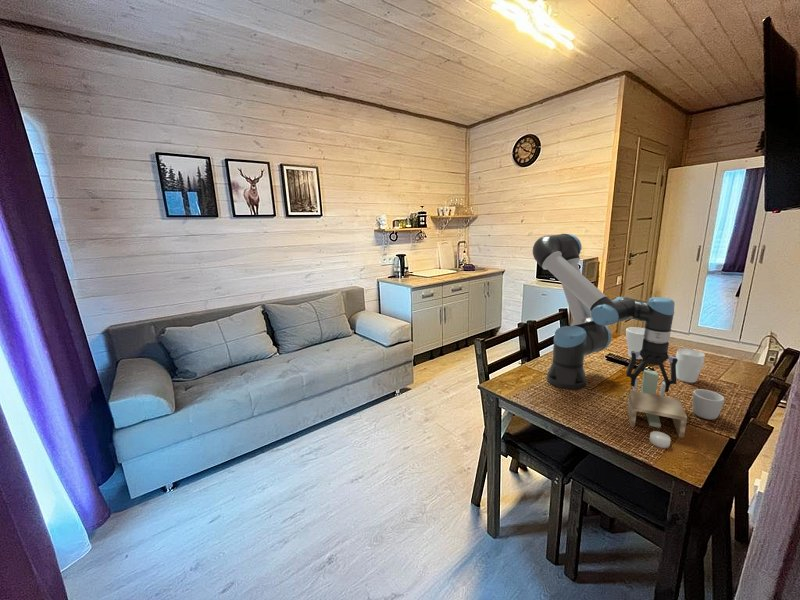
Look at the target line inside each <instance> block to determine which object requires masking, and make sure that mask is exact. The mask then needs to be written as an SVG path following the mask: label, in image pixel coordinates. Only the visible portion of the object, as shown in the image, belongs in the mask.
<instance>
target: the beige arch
mask: <svg viewBox="0 0 800 600" xmlns="http://www.w3.org/2000/svg"><path fill="white" fill-rule="evenodd" d="M626 409H627V414H628V419H629V426H630V427H632V428H635V426H636V421H637V420H636V419H637V412H640V413H645V414H646V413H649V414H654V415H658V416H659V417H666V418H670V419H672V422H673V425H674V427H675V431H676V433H677V436H678V437H679V438H685V432H686V428H687V427H686V426H687V421H688V416H687V414H686V411H685V409H684V406H683V405H682V402H681V399H680V398H677V397H669V396H665V395H664V396H660V394H659V395H658V394H656V395H654V394H648V393H642V392H641V391H633V390H632V389H631V390H629V394H628V401H627V407H626Z"/></svg>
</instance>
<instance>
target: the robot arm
mask: <svg viewBox="0 0 800 600" xmlns="http://www.w3.org/2000/svg"><path fill="white" fill-rule="evenodd" d="M582 248H583V247H582V243H581V241H580V239H579V238H578V237H577V236H576V235H574V234H571V233H561V234H551V235H544V236H541V237H539V238H537V240H536V241H535V242H534V244H533V247H532V257H533V258H534V261H536V263H537V264H538V265H539V267H541V268H542V269H543V270H548V271H549V272H550V274H552V275H553V277H555V278H556V279H557V280H558V281H559V282H560V283H561V286H562V289H563V292H564V295H565V298H566V302H567V305H568V307H569V311H570V314H571V317H572V322H571V325H570V326H569V325H564V326H561V327H558V328H557V329H556V330H555V331H554V336H553V347H552V349H553V350H552V352H553V353H552V363H551V365H550V367H549V369H548V370H547V374H546V380H547V382H548V383H550V384H551V385H552V386H554V387H557V388H559V389H563V390H570V391H571V390H573V391H574V390H575V391H577V390H582V389H585V388H586V386H587V381H588V380H587V375H586V372H585V369H584V361H585V356H589V355H591V354H594V353H599V352H601V351H603V350H605V349H607V348H608V347H609V346H610V345H611V343H612V332H611V330H610V328H609V327H608V326H611V325H614V324H617V323H619V322H624V321H627V320H634V321H635V320H636V321H640V322H644V329H645V330H644V339H643V344H642V350H641V351H640V352H634V351H632V352H631V356H632V357H631V358H630V361H629V364H628V366H627V369H626V372H625V375H626V377H628V378H630V386H631V387H633V388H632V391H636V392H638V391H637V389H638V383H639V379H638V376H639V375H640V374H641V372H642V371H644V370H645V369H644V368H645V367H646V366H648V365H655V366H659V370H660V372H661V375H662V376H663V381H661V385H660V392H659V396H665V393H668V392H669V389H670V386H671V385H676V384H677V378H676V363H677V361H678V360H677V358H676V355H675V356H672V355H668V352H669V346H670V345H669V344H670V343H669V342H670V338H671V331H672V325H673V319H674V315H675V304H676V303H675V301H674V300H673V299H671V298H669V297H662V296H661V297H660V296H659V297H658V296H653V297H649V298H648V301H646V300H641V299H636V298H631V297H629V296H626V297H625V296H617V297H615V298H614V299H613V300H611V299H610V298H609V297H608V296H606V294H605V293H603V292H602V291H601V290H600V289H599V288H598V287H597V286H595V285H594V284H593V283H592V282H591V281H590V280H589V279H588V278H586V276H584V275H583V274H582V273H581V270H580V266H579V262H580V260H581V257H580V254H581V251H582ZM639 355H641V357H642V358H643V359H641V361H640V362H639V364H638V365H637V367H636V368H635V369H634V367H635V364H636V361H637V359H636V358H638V356H639ZM667 360H668V362H669V364H670V366H669V367H670V378H669V377H668V374H667V372H666V368H665V366H664V364H663V363H665V362H666V361H667ZM633 369H634V371H633Z"/></svg>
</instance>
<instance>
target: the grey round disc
mask: <svg viewBox="0 0 800 600" xmlns="http://www.w3.org/2000/svg"><path fill="white" fill-rule="evenodd" d="M649 442H650V443H651V444H652V445H654V446H655V447H658V448H661V449H669V448H670V445H671V437H670V435H668V434H666V433H665V432H661V431H657V430H656V431H655V430H653V431H651V432H650V433H649Z"/></svg>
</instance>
